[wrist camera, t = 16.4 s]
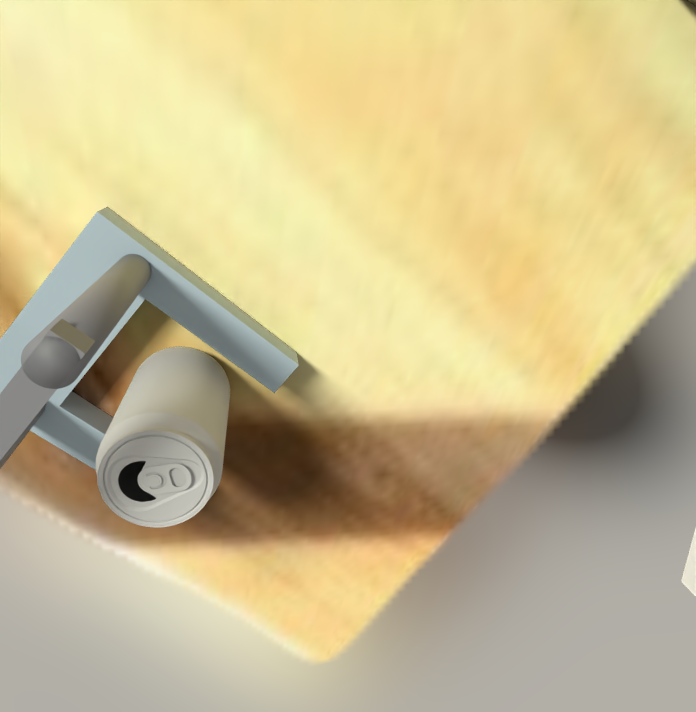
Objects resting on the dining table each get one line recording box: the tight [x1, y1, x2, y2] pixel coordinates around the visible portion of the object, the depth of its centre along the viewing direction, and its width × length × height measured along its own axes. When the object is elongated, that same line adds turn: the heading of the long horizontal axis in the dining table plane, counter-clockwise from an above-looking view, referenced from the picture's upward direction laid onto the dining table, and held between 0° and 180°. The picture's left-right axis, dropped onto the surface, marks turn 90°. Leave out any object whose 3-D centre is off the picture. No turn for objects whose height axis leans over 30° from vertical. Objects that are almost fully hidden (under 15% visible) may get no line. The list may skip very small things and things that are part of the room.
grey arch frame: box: [0, 207, 299, 470], centre depth 32 cm, size 15×14×18 cm
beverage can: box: [96, 347, 230, 527], centre depth 36 cm, size 6×6×12 cm
